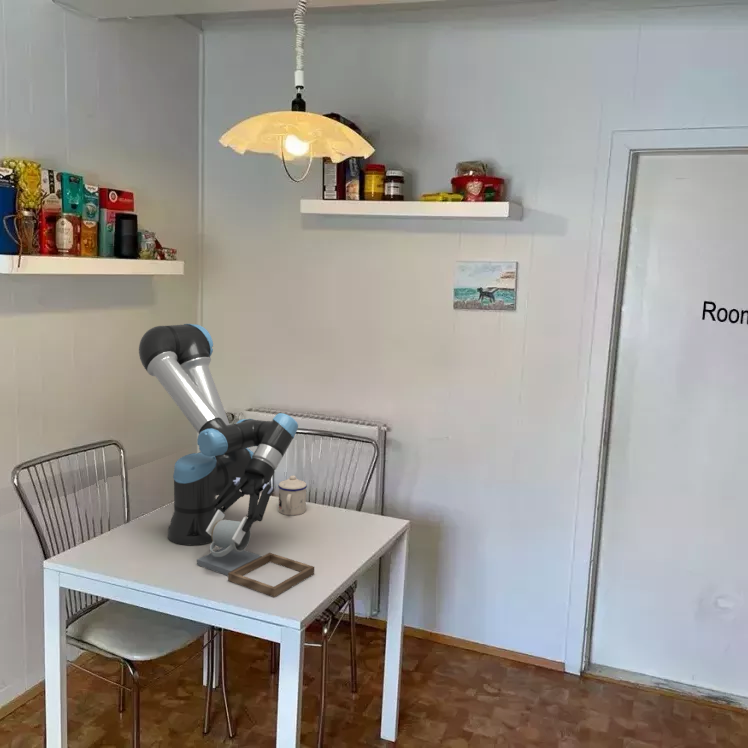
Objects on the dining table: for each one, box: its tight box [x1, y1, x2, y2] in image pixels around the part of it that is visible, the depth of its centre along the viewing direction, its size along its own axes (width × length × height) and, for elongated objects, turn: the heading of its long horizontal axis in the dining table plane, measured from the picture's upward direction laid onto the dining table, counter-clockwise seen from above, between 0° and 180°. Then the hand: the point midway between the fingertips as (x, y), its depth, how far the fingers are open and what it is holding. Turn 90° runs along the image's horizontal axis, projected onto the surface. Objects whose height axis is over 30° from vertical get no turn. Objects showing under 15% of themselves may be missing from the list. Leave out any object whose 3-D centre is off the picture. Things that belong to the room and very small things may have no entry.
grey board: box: [196, 548, 263, 577], centre depth 193 cm, size 12×12×2 cm
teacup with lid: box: [278, 475, 308, 516], centre depth 232 cm, size 12×9×12 cm
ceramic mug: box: [209, 519, 252, 557], centre depth 190 cm, size 11×8×8 cm
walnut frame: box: [227, 552, 315, 598], centre depth 185 cm, size 15×16×2 cm
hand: (222, 537), depth 189 cm, fingers closed on ceramic mug, 8 cm apart
